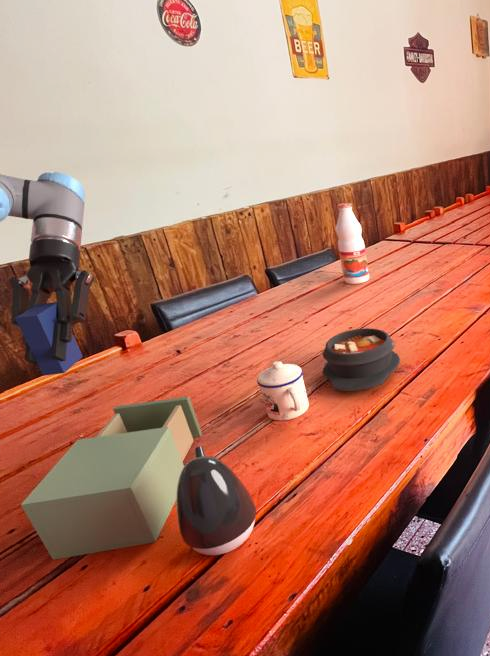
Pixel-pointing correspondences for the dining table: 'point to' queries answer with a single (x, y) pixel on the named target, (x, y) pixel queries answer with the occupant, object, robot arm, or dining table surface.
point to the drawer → (157, 420)
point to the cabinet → (107, 493)
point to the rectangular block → (46, 338)
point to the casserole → (359, 359)
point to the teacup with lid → (283, 391)
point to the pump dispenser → (213, 506)
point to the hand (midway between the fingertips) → (45, 360)
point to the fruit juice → (351, 246)
